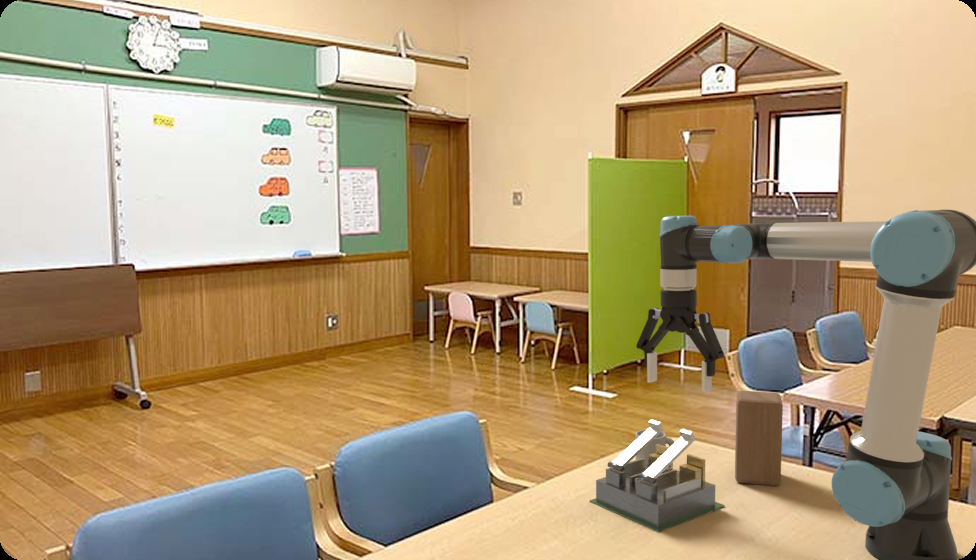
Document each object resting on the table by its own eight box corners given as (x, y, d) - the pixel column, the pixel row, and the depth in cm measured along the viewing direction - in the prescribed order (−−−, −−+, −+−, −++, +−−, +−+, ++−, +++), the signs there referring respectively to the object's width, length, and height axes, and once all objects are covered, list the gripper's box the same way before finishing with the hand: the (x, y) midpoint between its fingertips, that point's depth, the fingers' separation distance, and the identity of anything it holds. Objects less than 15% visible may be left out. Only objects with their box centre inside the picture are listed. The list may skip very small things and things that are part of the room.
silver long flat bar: (665, 431, 177) (662, 422, 176) (621, 472, 169) (617, 464, 169) (652, 427, 180) (649, 418, 179) (608, 468, 172) (605, 459, 172)
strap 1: (697, 441, 170) (694, 432, 169) (652, 485, 162) (649, 475, 161) (683, 436, 173) (680, 428, 172) (639, 479, 165) (635, 470, 164)
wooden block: (735, 483, 184) (736, 399, 182) (734, 469, 194) (736, 389, 192) (780, 487, 181) (783, 402, 179) (778, 472, 191) (780, 391, 189)
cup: (632, 464, 198) (632, 430, 197) (672, 463, 199) (672, 428, 198) (639, 474, 191) (639, 439, 190) (680, 473, 191) (680, 437, 190)
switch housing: (724, 506, 171) (725, 460, 170) (658, 532, 159) (659, 483, 158) (654, 480, 187) (655, 438, 186) (589, 501, 175) (589, 456, 174)
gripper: (741, 290, 162) (740, 391, 164) (640, 283, 180) (640, 375, 182) (722, 293, 157) (722, 398, 159) (620, 286, 175) (621, 380, 177)
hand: (678, 386), depth 170 cm, fingers open, 13 cm apart
